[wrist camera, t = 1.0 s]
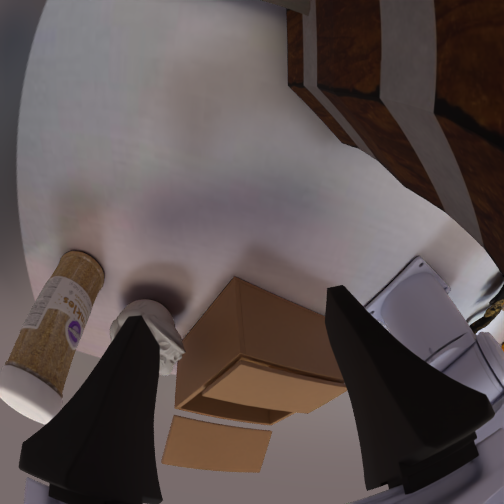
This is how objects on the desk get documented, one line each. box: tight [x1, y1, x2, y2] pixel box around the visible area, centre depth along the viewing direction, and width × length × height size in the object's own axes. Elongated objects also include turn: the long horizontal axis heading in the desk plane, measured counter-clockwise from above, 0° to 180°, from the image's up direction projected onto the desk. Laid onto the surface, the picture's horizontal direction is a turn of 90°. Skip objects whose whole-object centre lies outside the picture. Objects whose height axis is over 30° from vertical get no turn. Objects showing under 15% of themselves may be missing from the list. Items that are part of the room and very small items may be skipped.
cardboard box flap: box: [161, 415, 272, 472], centre depth 22 cm, size 5×11×1 cm
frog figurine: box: [110, 299, 186, 376], centre depth 21 cm, size 6×7×7 cm
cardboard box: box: [175, 277, 347, 425], centre depth 24 cm, size 11×11×8 cm
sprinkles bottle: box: [0, 251, 104, 425], centre depth 15 cm, size 5×5×14 cm
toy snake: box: [470, 285, 504, 334], centre depth 29 cm, size 18×5×10 cm
